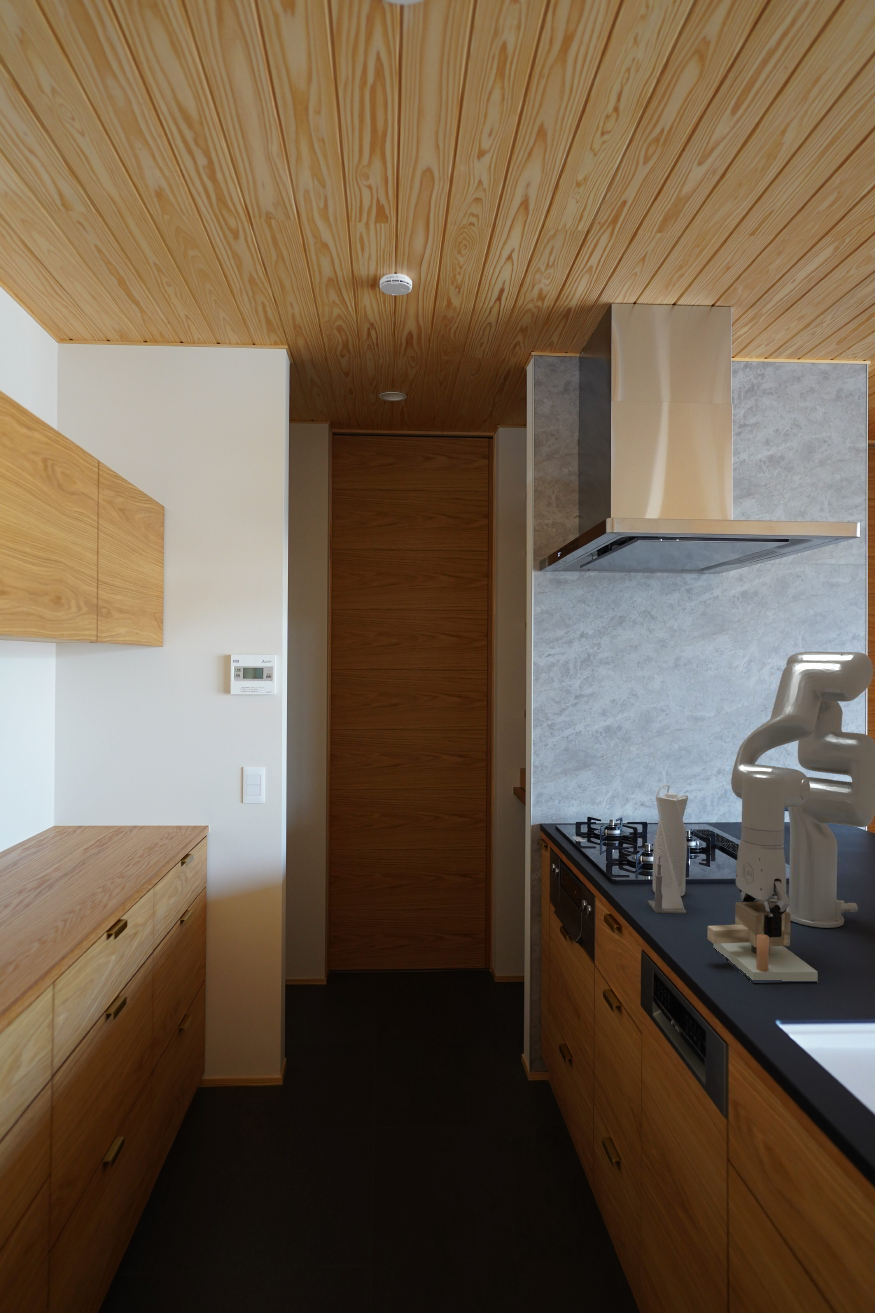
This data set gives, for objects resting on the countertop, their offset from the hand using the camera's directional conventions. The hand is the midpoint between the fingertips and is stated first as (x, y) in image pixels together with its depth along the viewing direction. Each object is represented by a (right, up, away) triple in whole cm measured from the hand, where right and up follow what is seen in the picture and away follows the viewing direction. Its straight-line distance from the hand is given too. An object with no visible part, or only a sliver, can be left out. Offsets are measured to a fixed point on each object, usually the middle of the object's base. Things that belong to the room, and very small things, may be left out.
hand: (760, 928), depth 141 cm
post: (0, -4, 0) cm, 4 cm away
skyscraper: (-8, -6, +30) cm, 32 cm away
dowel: (-3, -4, -8) cm, 10 cm away
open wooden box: (-3, -2, 0) cm, 4 cm away
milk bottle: (-5, -7, +41) cm, 42 cm away
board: (0, -6, -1) cm, 7 cm away
